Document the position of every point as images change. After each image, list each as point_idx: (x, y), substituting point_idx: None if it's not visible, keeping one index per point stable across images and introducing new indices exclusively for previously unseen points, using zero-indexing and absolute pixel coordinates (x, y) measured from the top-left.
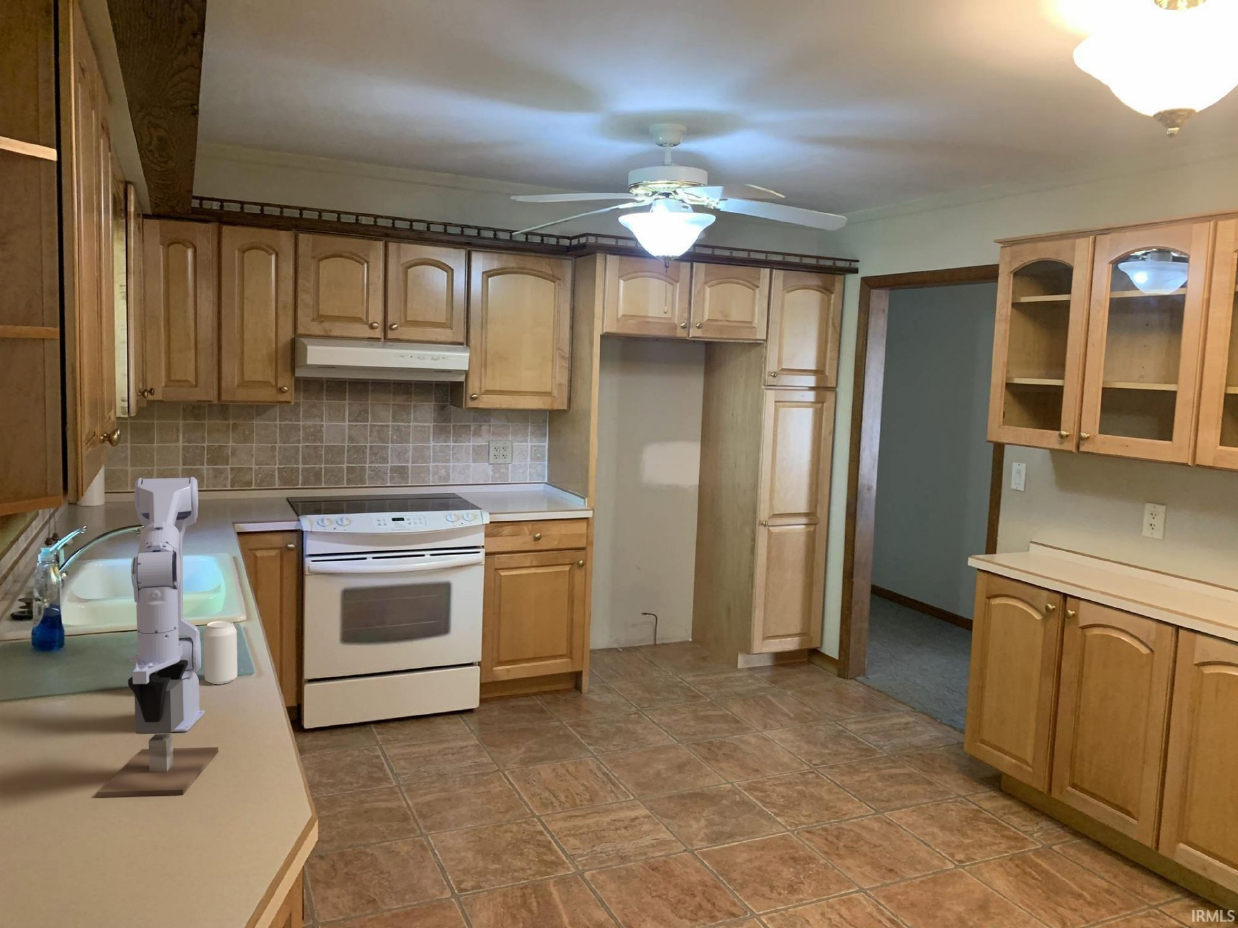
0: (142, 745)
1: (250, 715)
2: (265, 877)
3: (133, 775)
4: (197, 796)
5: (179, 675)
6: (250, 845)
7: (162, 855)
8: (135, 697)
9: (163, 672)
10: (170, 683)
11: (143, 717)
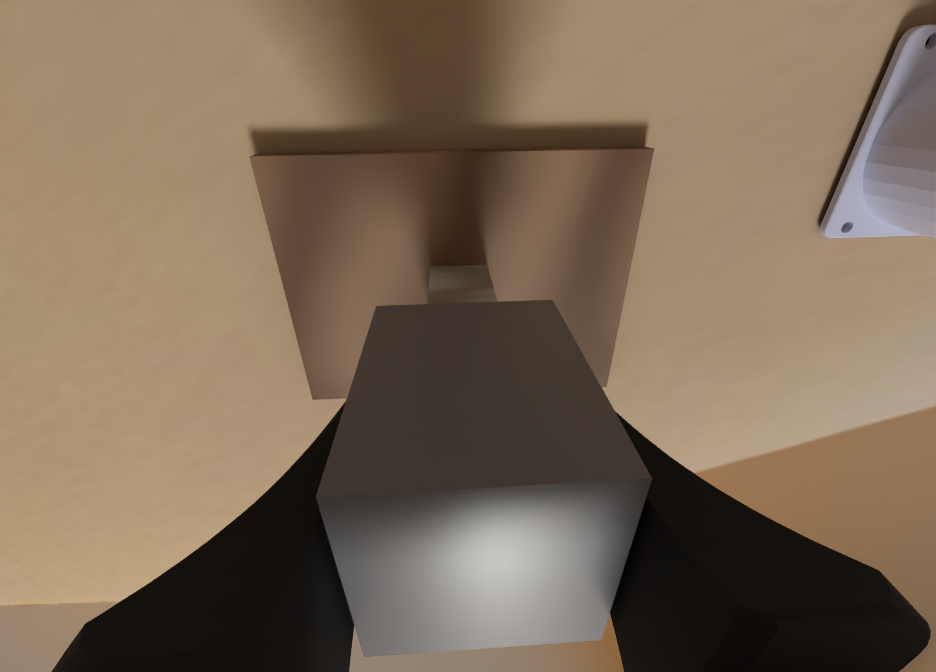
0: (737, 108)
1: (879, 371)
2: (38, 596)
3: (401, 224)
4: (313, 421)
5: (623, 659)
6: (128, 557)
7: (17, 453)
8: (331, 452)
9: (663, 629)
10: (522, 616)
11: (344, 404)
